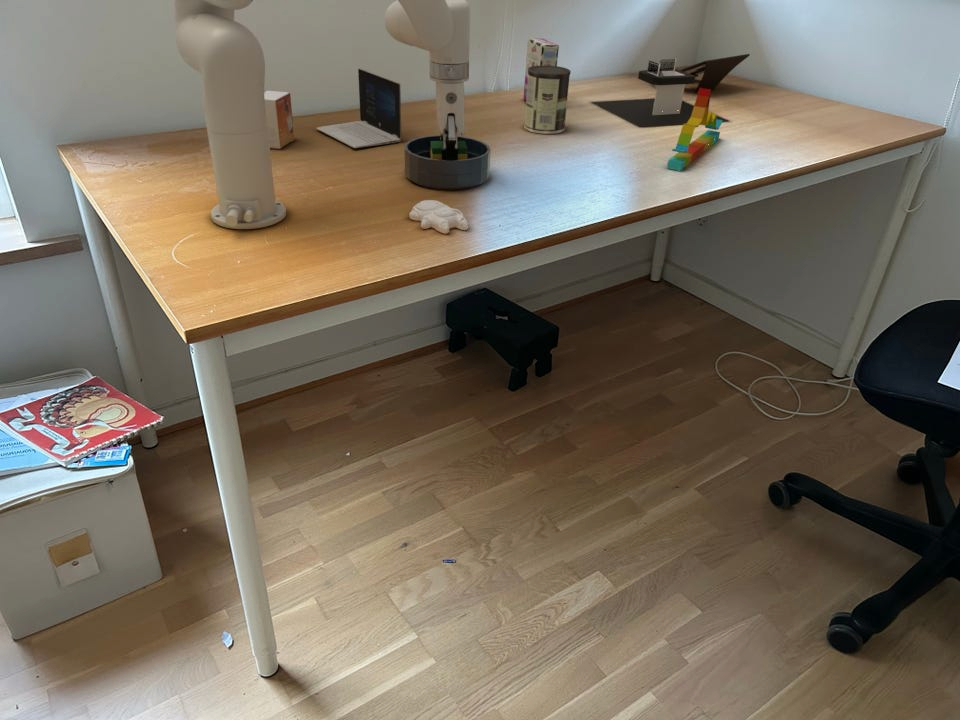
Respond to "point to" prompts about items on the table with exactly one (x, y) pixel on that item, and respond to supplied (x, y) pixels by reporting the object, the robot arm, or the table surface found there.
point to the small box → (279, 118)
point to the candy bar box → (540, 56)
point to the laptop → (372, 114)
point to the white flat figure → (438, 216)
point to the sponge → (438, 146)
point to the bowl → (446, 164)
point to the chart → (697, 118)
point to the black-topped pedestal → (657, 98)
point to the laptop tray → (714, 70)
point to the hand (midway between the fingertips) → (448, 163)
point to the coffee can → (546, 99)
